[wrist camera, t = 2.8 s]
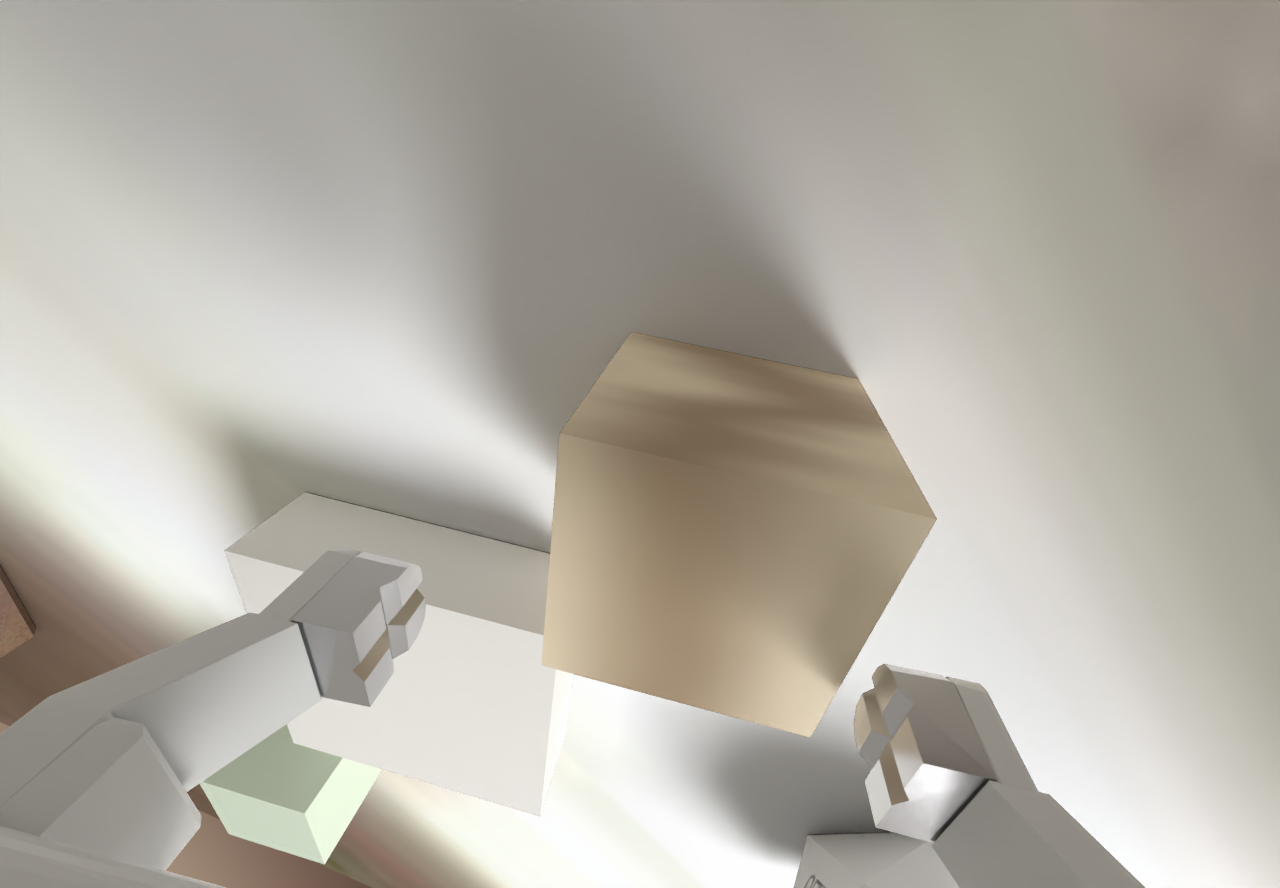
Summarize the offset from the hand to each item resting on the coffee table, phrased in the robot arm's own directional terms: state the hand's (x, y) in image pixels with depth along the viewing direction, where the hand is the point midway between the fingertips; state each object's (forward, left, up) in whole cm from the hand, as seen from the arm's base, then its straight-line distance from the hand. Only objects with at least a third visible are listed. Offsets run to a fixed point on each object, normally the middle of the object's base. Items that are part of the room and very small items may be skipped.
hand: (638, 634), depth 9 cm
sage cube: (+13, +18, -6) cm, 23 cm away
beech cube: (-1, -1, -6) cm, 6 cm away
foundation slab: (+7, +9, -6) cm, 13 cm away
